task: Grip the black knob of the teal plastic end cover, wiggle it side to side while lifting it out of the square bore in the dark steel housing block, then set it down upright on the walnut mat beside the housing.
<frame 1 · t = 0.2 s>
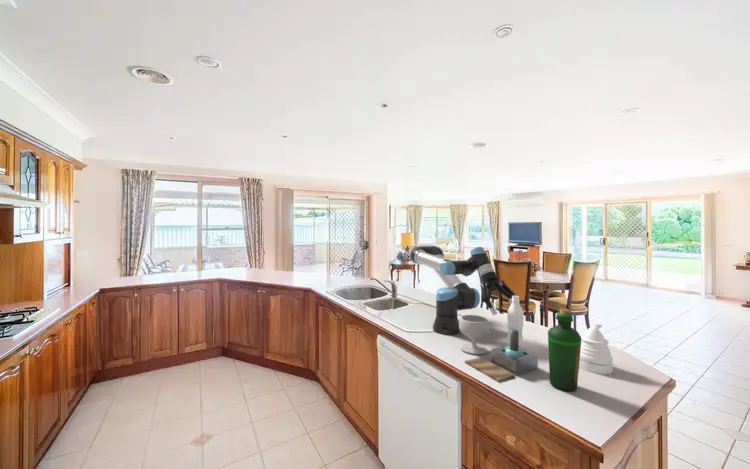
hand: (505, 312, 152), 16 cm above the counter, tool tilted 35°, fingers open, 13 cm apart
chalice: (473, 350, 145), on the counter
walnut mat: (488, 369, 125), on the counter
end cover: (513, 361, 128), point 2 cm above the counter, touching housing
water bottle: (514, 348, 148), on the counter
honey pot: (593, 367, 128), on the counter
bottle: (563, 386, 112), on the counter
housing: (513, 366, 128), on the counter
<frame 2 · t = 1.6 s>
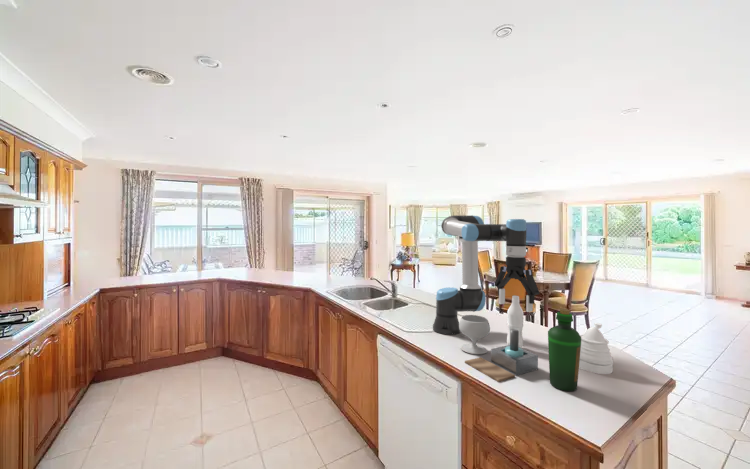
hand: (515, 307, 128), 25 cm above the counter, tool pointing down, fingers open, 13 cm apart
nothing on the counter moved.
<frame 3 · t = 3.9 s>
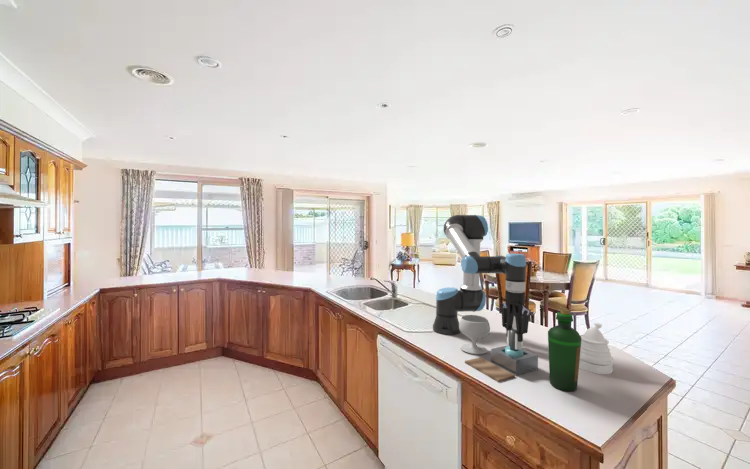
hand: (514, 347, 128), 8 cm above the counter, tool pointing down, fingers closed on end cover, 3 cm apart
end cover: (513, 361, 128), point 2 cm above the counter, touching gripper, housing
everything else where it was.
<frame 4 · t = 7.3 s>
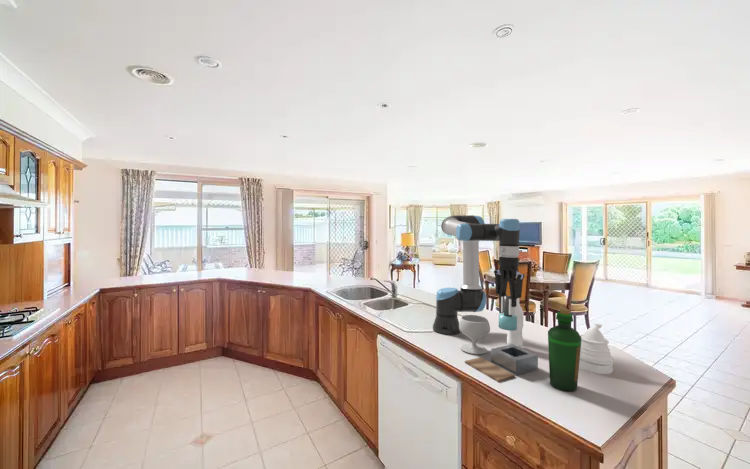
hand: (507, 313, 127), 22 cm above the counter, tool pointing down, fingers closed on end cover, 3 cm apart
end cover: (507, 327, 127), point 16 cm above the counter, touching gripper
everything else where it was.
when the fingers open (9 cm above the counter, at t = 10.7 s): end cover drops 2 cm, resting on walnut mat.
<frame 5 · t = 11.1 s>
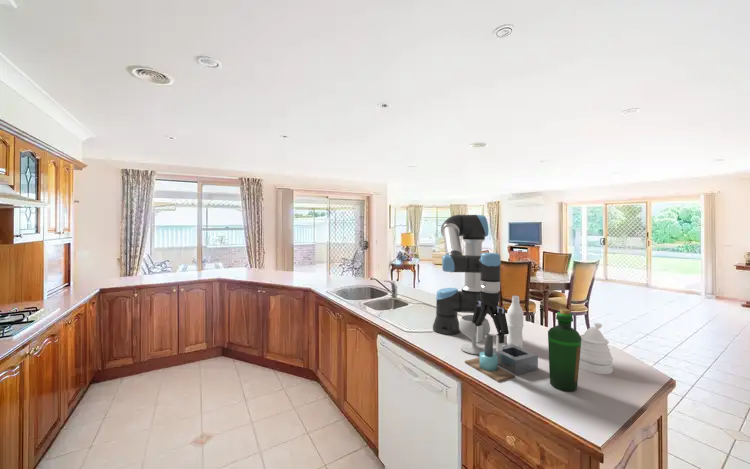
hand: (489, 345, 125), 10 cm above the counter, tool pointing down, fingers open, 10 cm apart
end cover: (488, 367, 125), point 1 cm above the counter, touching walnut mat
everything else where it was.
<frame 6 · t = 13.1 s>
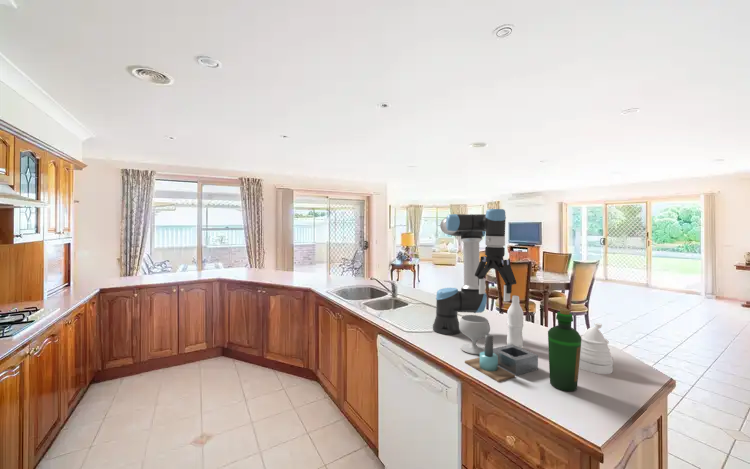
hand: (493, 297, 128), 29 cm above the counter, tool pointing down, fingers open, 13 cm apart
nothing on the counter moved.
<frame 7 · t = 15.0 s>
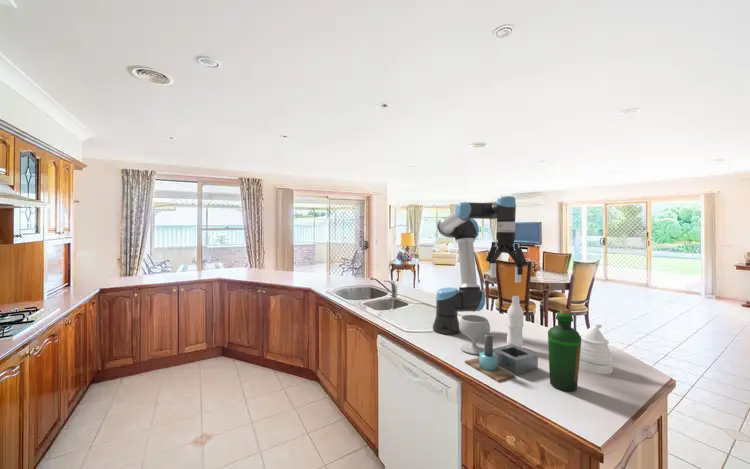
hand: (505, 279, 136), 35 cm above the counter, tool pointing down, fingers open, 13 cm apart
nothing on the counter moved.
at the end: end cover inside the target area on the walnut mat (0.2 cm from its centre), point 0.9 cm above the walnut mat's base; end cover tilted 1°; the gripper is holding nothing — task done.
